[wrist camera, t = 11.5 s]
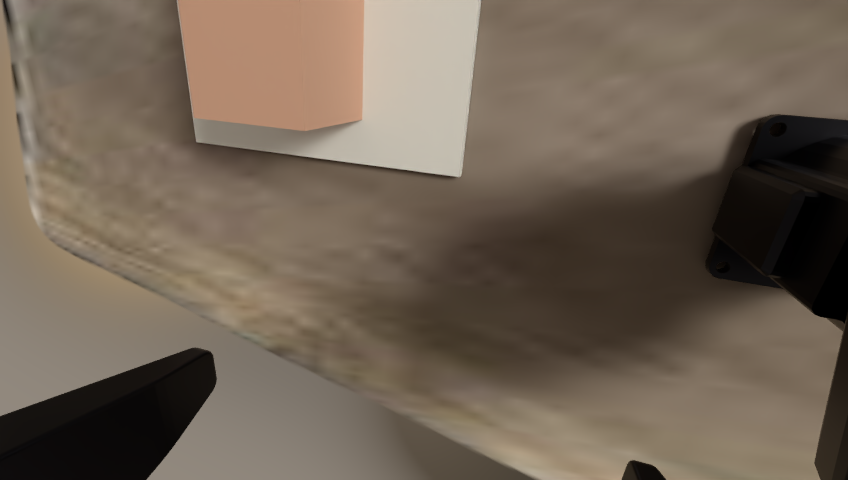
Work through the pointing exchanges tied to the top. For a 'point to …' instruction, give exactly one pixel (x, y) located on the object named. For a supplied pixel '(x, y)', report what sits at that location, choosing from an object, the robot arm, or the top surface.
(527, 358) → the top surface
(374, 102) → the mat
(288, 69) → the tan rectangular block
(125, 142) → the top surface
